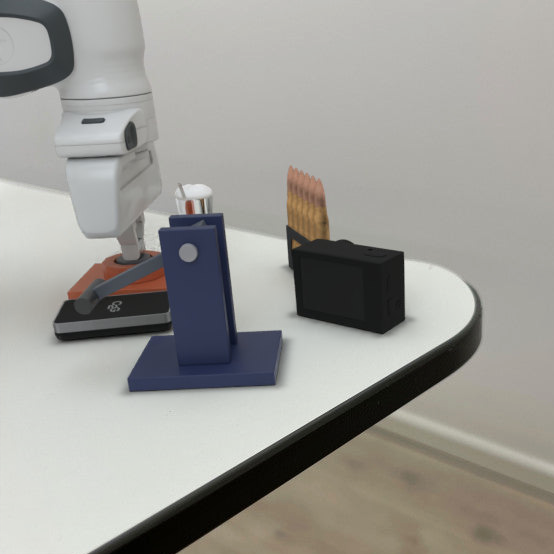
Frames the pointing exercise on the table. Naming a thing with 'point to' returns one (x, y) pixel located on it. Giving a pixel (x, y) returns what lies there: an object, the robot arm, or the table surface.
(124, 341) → the table surface
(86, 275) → the button block
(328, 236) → the ammunition clip
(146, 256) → the button
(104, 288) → the switch lever
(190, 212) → the milkshake
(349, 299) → the digital camera
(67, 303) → the external hard drive
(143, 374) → the switch bracket
